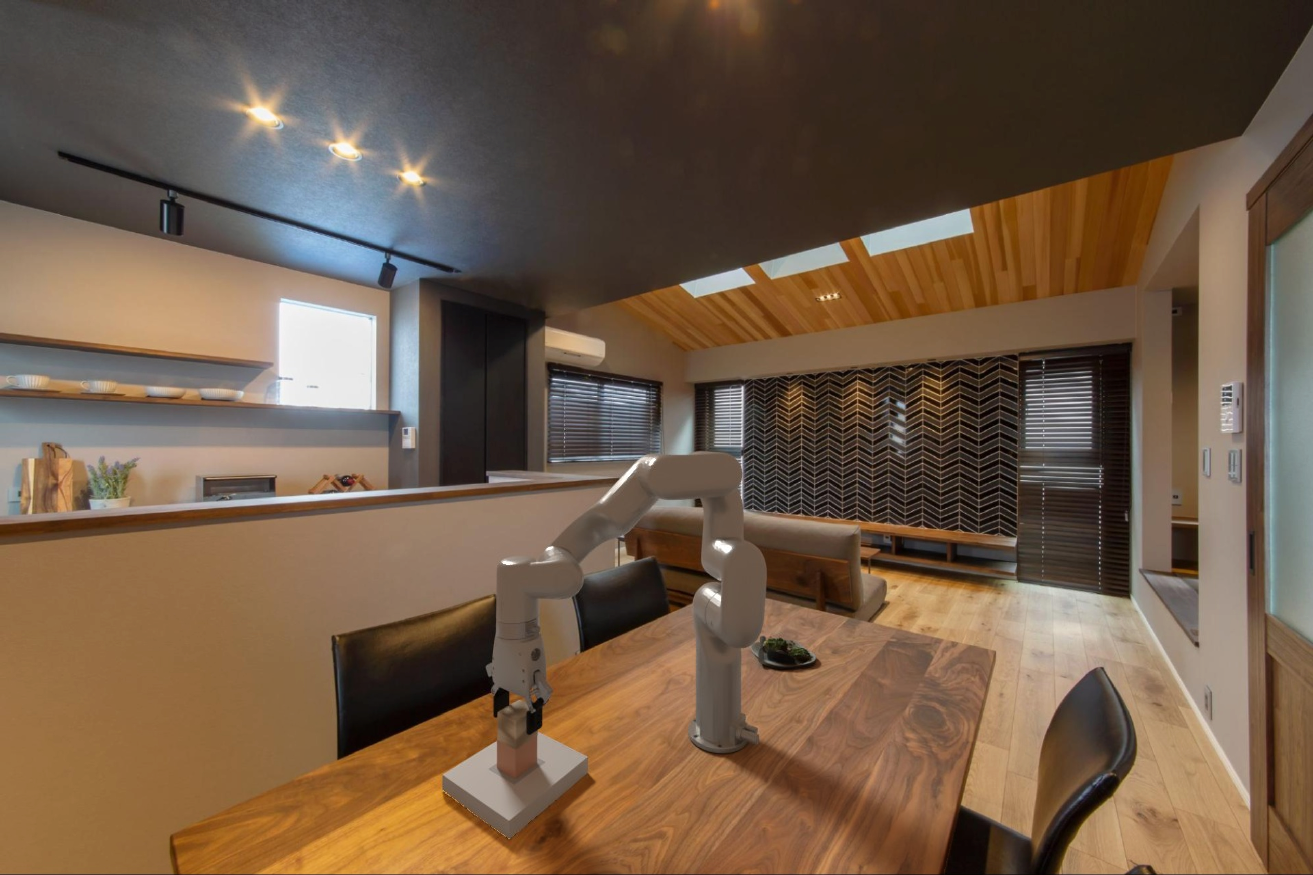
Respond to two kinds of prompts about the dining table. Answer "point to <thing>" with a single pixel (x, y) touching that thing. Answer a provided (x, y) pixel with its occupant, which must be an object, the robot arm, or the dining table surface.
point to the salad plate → (782, 654)
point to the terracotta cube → (516, 757)
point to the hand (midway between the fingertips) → (517, 721)
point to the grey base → (514, 784)
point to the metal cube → (514, 725)
